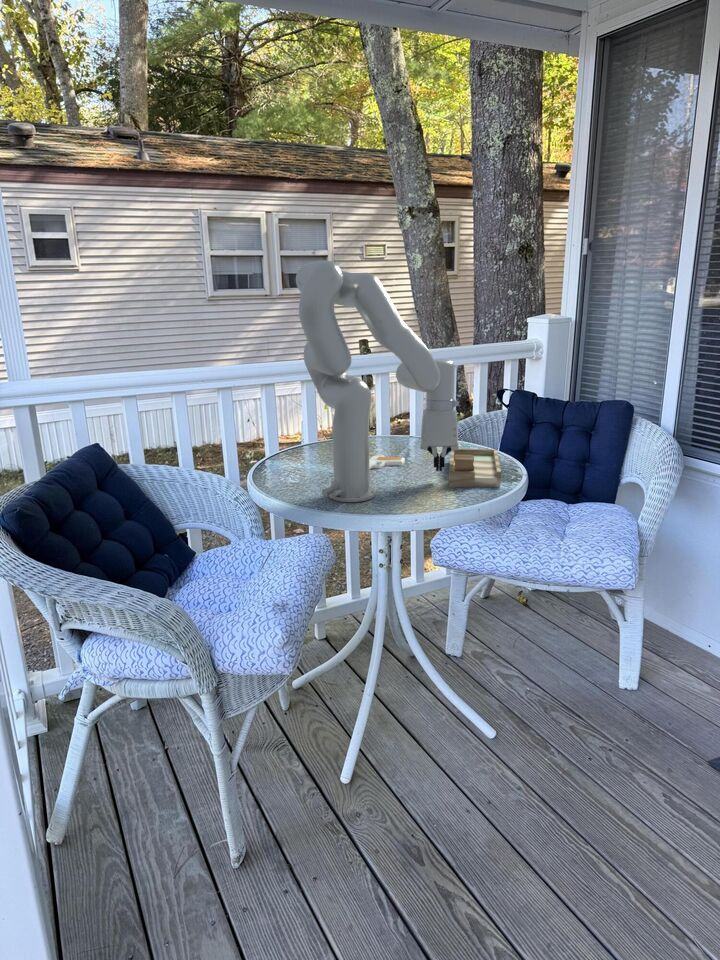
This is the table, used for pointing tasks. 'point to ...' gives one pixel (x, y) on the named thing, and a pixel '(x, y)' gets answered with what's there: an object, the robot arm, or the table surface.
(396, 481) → the table surface
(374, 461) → the pistol
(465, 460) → the block
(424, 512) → the table surface
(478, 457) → the pad
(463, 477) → the tray
